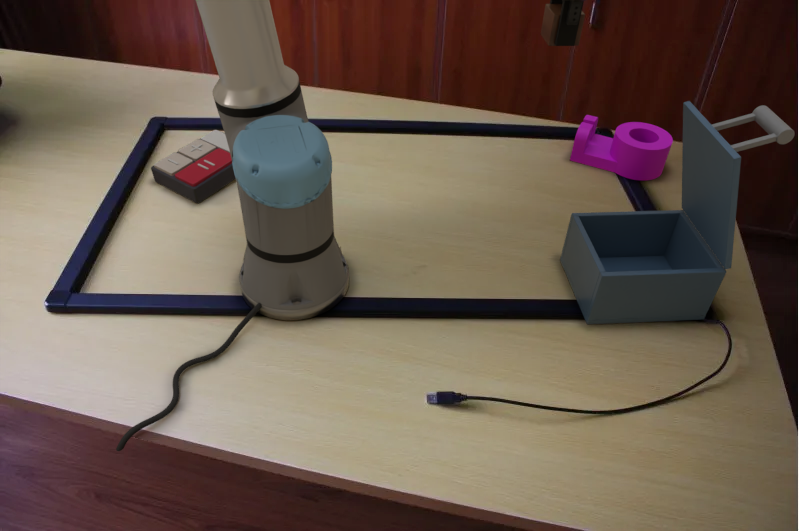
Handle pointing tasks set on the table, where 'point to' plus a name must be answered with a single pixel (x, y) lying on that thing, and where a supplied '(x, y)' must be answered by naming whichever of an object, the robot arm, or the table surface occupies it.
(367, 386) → the table surface
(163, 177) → the calculator
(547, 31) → the block
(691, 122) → the lid
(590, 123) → the tape dispenser
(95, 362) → the table surface
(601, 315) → the compartment
